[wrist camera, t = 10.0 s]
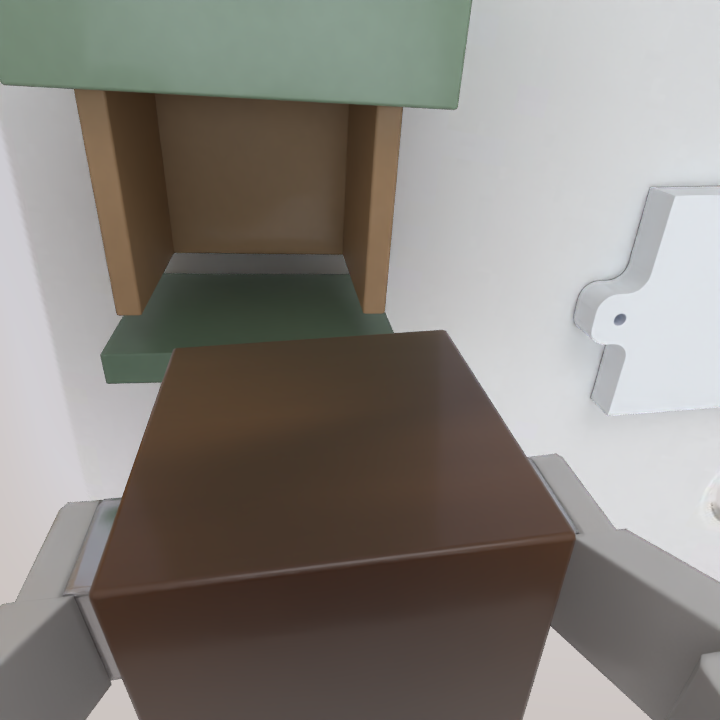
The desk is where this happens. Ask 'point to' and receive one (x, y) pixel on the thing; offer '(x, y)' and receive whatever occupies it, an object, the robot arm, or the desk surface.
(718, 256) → the mounting plate
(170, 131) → the drawer
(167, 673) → the block
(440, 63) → the cabinet
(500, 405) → the desk surface
